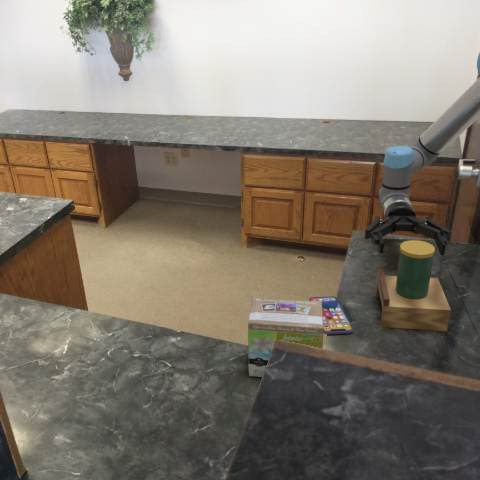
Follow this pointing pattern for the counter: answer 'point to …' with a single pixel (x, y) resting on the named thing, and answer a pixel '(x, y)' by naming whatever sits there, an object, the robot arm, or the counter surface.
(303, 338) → the tea box
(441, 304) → the wooden block
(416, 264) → the tea tin
